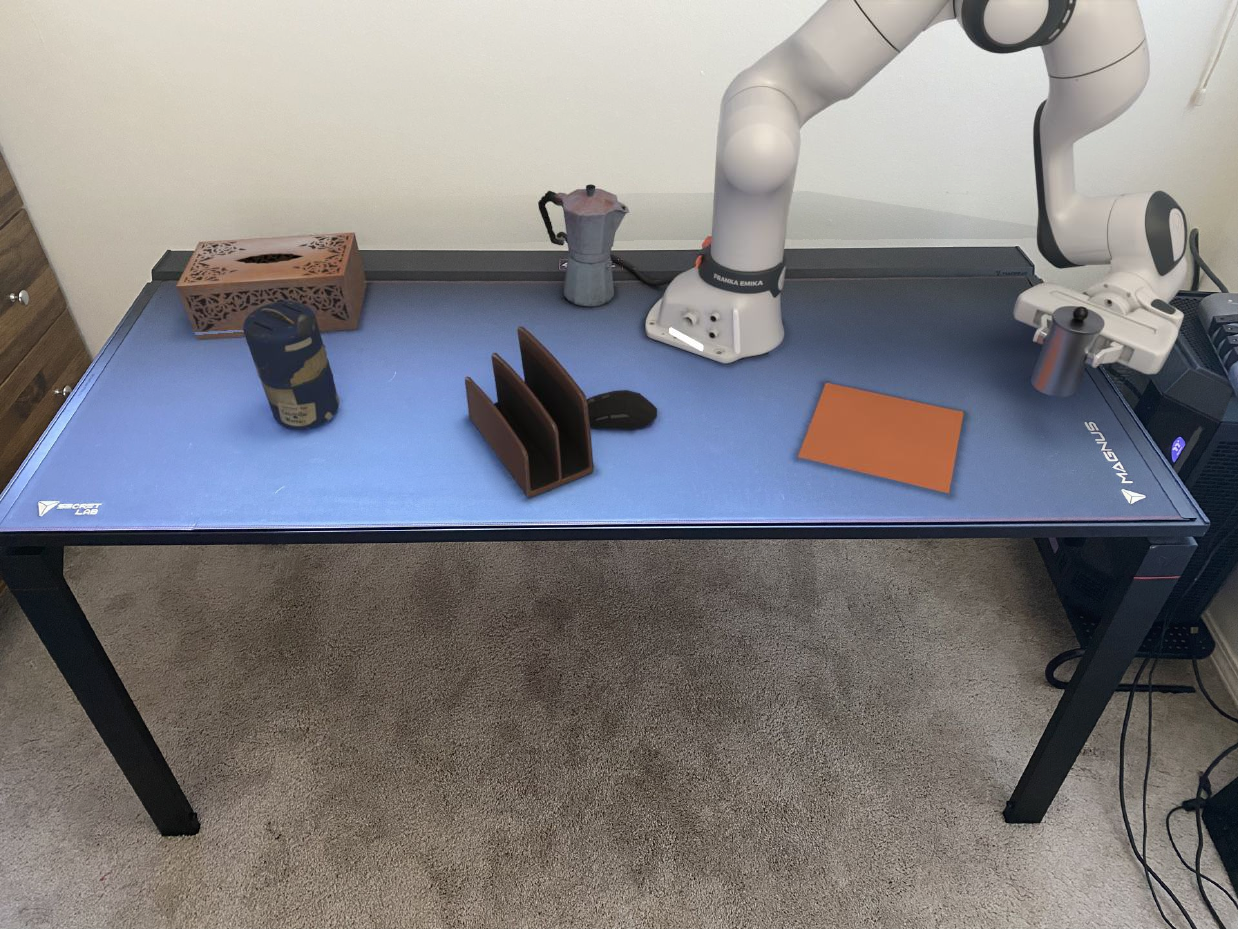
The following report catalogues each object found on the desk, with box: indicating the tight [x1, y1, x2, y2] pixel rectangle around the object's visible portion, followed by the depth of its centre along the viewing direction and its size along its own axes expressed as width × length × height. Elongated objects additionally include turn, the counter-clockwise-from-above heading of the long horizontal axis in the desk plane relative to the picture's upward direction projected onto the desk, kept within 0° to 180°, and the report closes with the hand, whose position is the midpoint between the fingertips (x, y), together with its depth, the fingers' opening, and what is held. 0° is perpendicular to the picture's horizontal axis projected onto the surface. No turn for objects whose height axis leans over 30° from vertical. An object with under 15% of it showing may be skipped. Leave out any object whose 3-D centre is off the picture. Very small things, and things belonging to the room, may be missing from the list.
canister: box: [243, 301, 340, 431], centre depth 125 cm, size 10×10×18 cm
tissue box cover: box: [175, 232, 368, 341], centre depth 149 cm, size 26×14×10 cm, turn 96°
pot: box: [1030, 306, 1105, 398], centre depth 118 cm, size 6×6×12 cm
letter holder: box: [464, 325, 595, 499], centre depth 120 cm, size 10×20×14 cm, turn 30°
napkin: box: [797, 382, 964, 494], centre depth 125 cm, size 20×18×1 cm
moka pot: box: [537, 183, 630, 307], centre depth 148 cm, size 10×15×20 cm, turn 78°
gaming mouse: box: [586, 389, 658, 431], centre depth 128 cm, size 6×15×4 cm, turn 88°
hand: (1064, 349), depth 117 cm, fingers closed on pot, 6 cm apart
